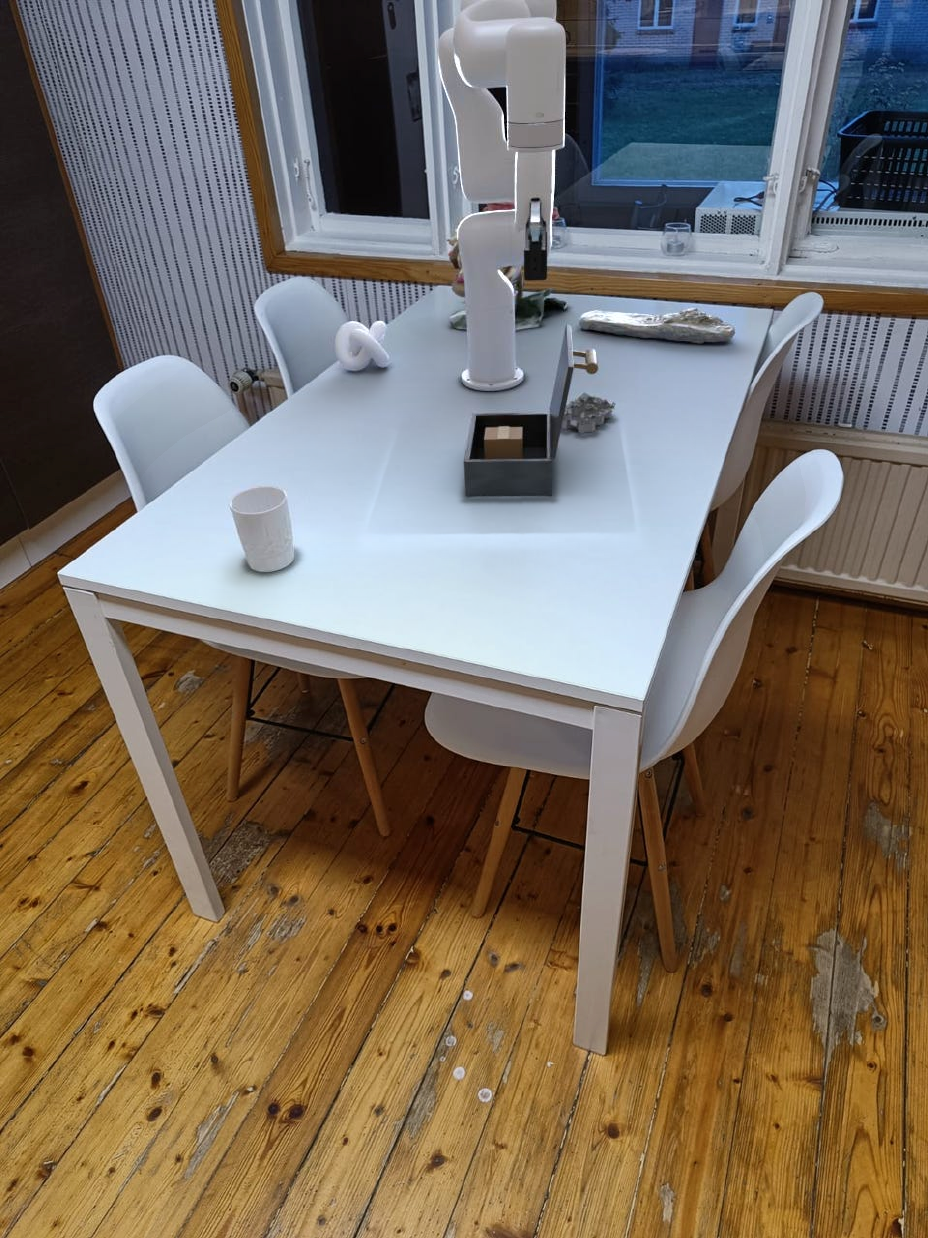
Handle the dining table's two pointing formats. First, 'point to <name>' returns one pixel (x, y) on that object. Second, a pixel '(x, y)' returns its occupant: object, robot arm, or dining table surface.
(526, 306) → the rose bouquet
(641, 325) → the long grey stone
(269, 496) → the white cup
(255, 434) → the dining table surface
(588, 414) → the grey rock
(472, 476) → the chest
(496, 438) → the package
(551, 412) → the lid
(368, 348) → the white knot sculpture
